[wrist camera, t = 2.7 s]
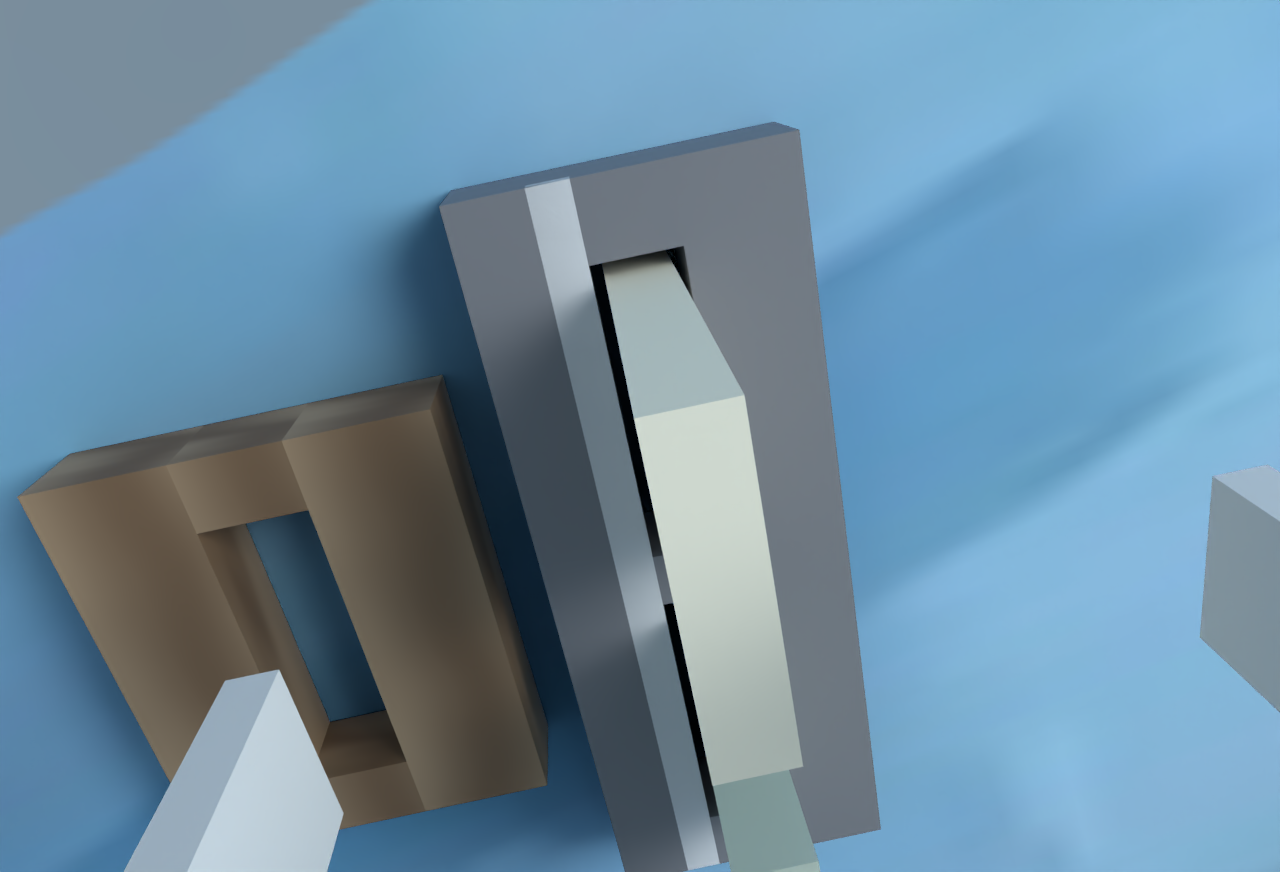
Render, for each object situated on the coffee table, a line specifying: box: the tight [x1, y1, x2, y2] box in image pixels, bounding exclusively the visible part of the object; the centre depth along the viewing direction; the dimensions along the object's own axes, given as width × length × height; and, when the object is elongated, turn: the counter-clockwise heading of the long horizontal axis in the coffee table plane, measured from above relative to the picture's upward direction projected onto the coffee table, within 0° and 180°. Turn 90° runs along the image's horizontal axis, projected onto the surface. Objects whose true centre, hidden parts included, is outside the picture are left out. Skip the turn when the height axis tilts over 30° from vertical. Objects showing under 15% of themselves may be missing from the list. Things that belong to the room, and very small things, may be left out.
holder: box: [18, 375, 548, 830], centre depth 25 cm, size 10×12×2 cm
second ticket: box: [713, 770, 820, 872], centre depth 23 cm, size 2×7×11 cm, turn 11°
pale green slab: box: [602, 250, 803, 786], centre depth 19 cm, size 2×7×11 cm, turn 11°
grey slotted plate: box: [439, 122, 881, 872], centre depth 25 cm, size 8×21×2 cm, turn 11°
